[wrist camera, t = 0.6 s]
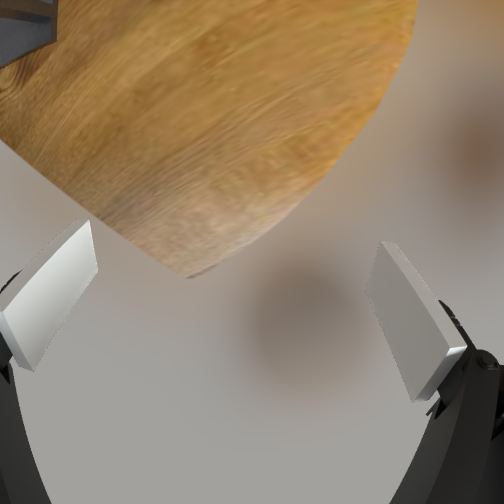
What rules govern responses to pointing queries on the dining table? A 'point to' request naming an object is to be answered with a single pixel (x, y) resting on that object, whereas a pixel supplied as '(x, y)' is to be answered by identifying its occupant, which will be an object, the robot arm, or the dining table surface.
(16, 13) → the stand
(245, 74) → the dining table surface
